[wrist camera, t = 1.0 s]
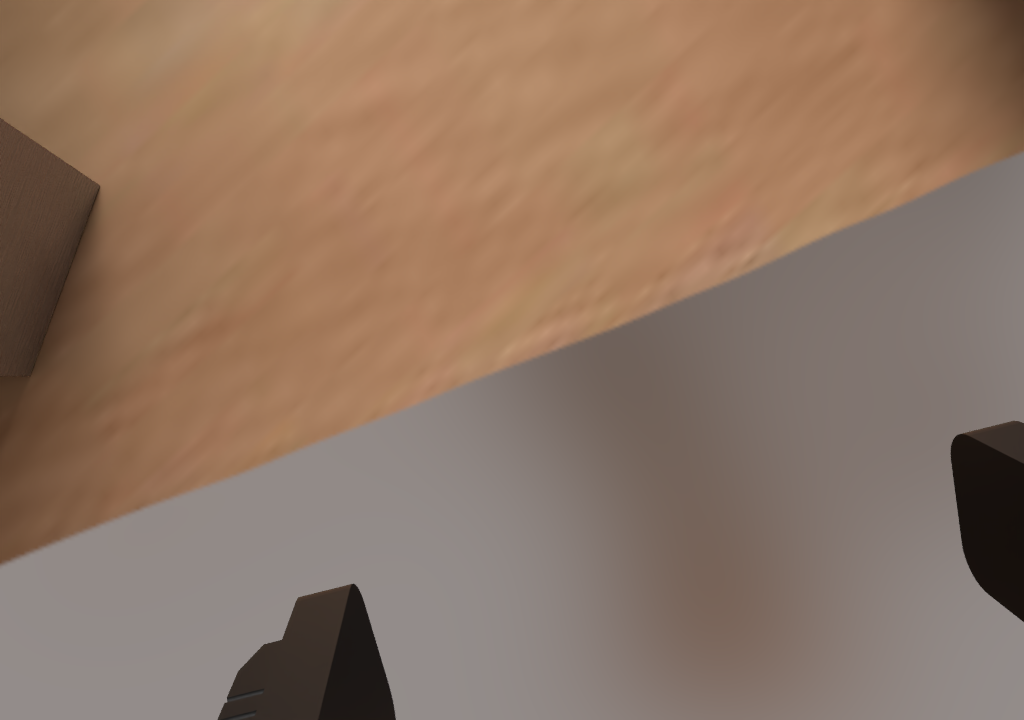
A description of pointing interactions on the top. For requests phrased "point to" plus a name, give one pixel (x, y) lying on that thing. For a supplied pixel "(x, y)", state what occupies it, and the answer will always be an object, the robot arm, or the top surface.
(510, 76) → the top surface
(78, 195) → the press
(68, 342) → the top surface
